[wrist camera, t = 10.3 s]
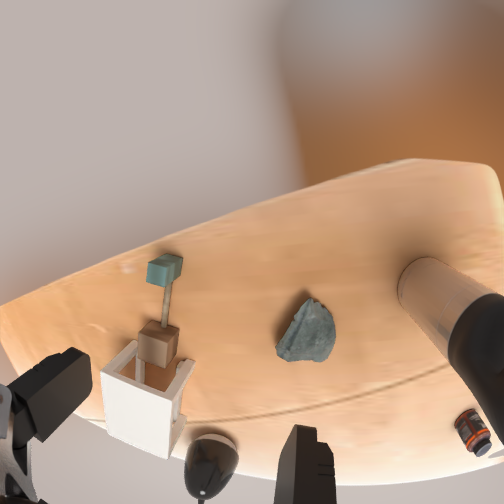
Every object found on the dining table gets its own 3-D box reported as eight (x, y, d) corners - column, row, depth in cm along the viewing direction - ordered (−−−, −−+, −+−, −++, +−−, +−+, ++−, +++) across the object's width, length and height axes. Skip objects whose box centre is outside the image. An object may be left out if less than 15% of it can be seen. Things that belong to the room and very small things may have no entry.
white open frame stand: (195, 361, 47) (172, 401, 36) (186, 421, 50) (167, 459, 39) (133, 339, 48) (100, 370, 37) (133, 401, 51) (107, 434, 40)
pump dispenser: (194, 451, 52) (173, 501, 37) (193, 421, 50) (167, 476, 35) (239, 460, 51) (226, 514, 36) (244, 432, 49) (229, 491, 34)
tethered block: (189, 259, 43) (174, 270, 37) (176, 353, 47) (162, 372, 41) (159, 251, 43) (141, 260, 38) (150, 344, 47) (134, 361, 41)
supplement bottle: (451, 431, 43) (468, 464, 32) (456, 414, 42) (475, 447, 31) (473, 422, 42) (491, 452, 31) (478, 404, 41) (499, 435, 30)
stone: (349, 299, 42) (289, 287, 40) (360, 313, 39) (296, 302, 36) (322, 353, 46) (265, 346, 44) (329, 369, 42) (270, 364, 40)
